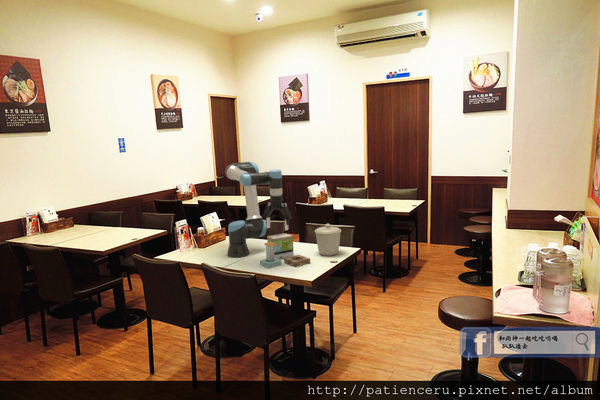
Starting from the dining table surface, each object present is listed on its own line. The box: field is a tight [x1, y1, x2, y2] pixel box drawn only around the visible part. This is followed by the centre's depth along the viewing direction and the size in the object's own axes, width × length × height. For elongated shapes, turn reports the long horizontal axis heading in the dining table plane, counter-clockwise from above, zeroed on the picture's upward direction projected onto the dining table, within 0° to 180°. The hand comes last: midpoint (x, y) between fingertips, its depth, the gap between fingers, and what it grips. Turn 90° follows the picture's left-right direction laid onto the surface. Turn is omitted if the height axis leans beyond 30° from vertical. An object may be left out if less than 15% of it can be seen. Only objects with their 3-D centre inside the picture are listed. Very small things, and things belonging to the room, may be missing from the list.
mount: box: [259, 258, 283, 269], centre depth 254 cm, size 10×10×3 cm
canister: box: [314, 223, 342, 257], centre depth 273 cm, size 18×18×21 cm
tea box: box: [266, 233, 294, 260], centre depth 270 cm, size 15×10×15 cm
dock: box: [283, 254, 311, 268], centre depth 256 cm, size 12×12×3 cm
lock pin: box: [264, 242, 275, 262], centre depth 253 cm, size 5×5×14 cm
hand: (277, 228), depth 249 cm, fingers open, 13 cm apart
